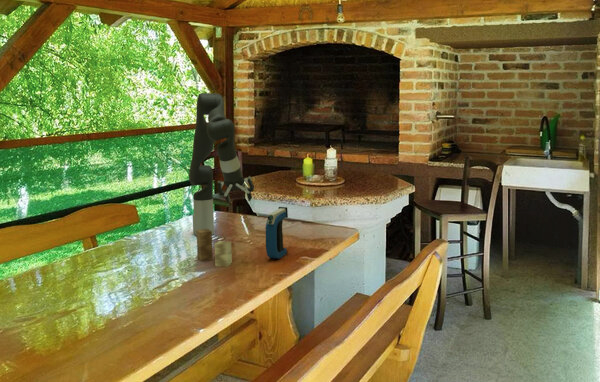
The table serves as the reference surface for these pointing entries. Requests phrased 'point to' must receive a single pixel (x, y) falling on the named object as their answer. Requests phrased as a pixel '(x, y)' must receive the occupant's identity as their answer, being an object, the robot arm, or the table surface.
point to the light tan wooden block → (204, 245)
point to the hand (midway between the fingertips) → (239, 201)
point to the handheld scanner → (275, 233)
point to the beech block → (223, 254)
